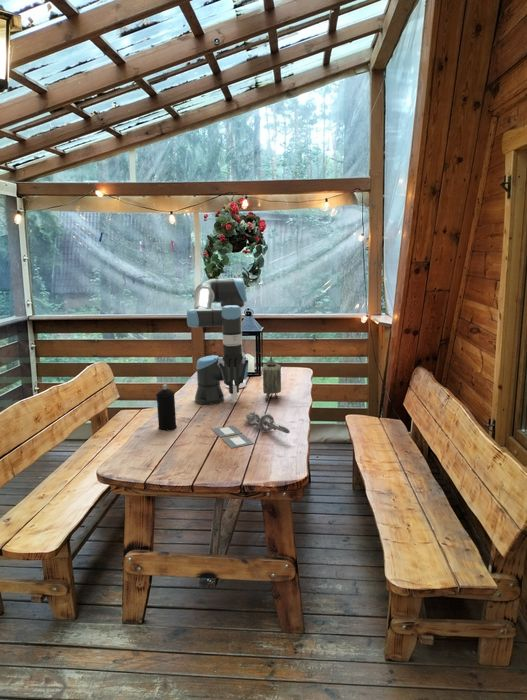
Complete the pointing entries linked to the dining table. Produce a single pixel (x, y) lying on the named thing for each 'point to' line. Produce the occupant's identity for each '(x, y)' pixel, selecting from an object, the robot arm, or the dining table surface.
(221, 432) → the label cards
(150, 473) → the dining table surface
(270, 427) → the spaceship
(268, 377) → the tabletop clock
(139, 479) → the dining table surface
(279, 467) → the dining table surface
